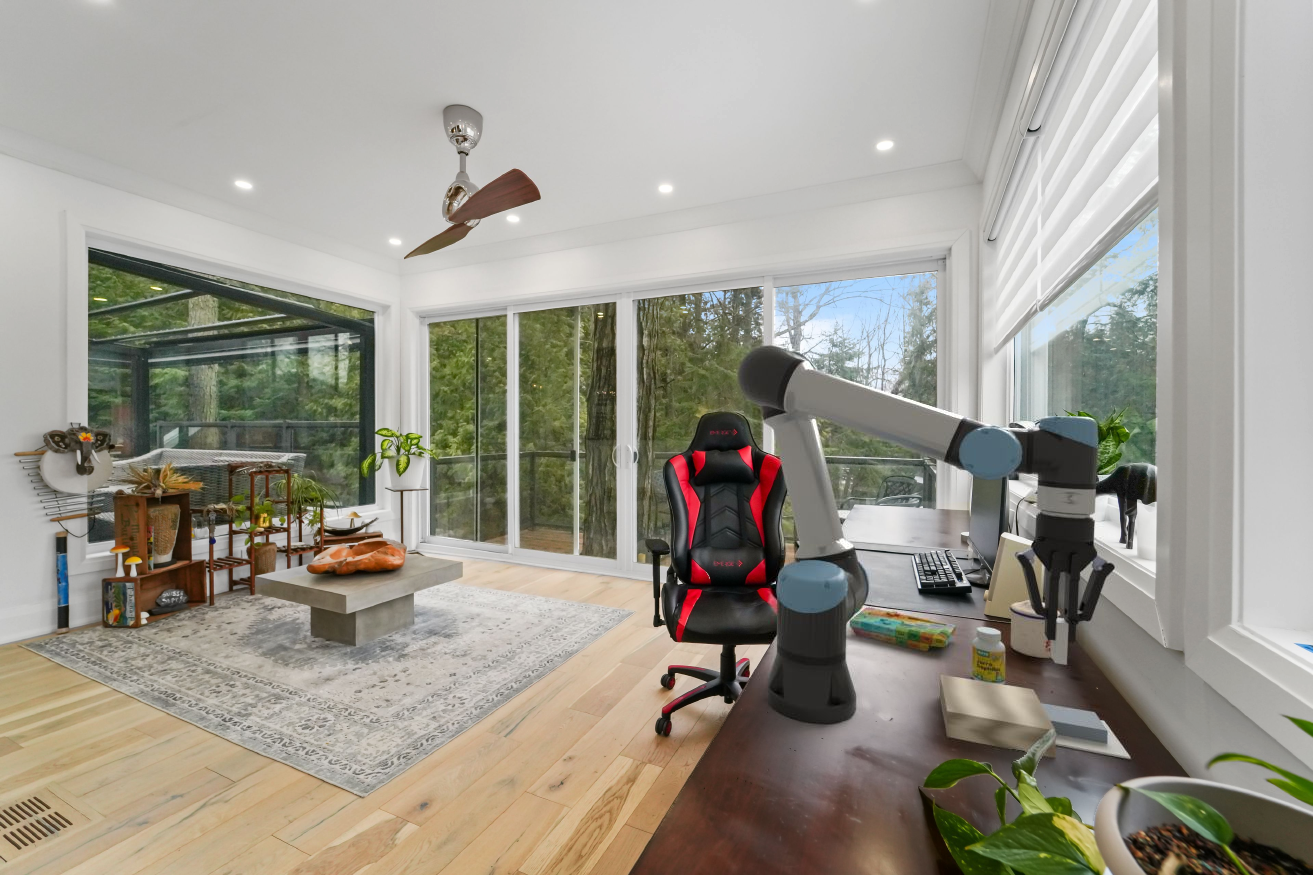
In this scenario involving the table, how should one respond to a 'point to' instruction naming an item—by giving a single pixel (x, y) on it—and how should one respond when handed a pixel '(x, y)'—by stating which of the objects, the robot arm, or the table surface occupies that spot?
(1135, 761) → the table surface
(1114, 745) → the white mat
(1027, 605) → the teacup with lid
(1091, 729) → the slate tile
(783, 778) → the table surface
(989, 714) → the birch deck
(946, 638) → the puzzle game
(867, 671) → the table surface
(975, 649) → the supplement bottle
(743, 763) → the table surface
